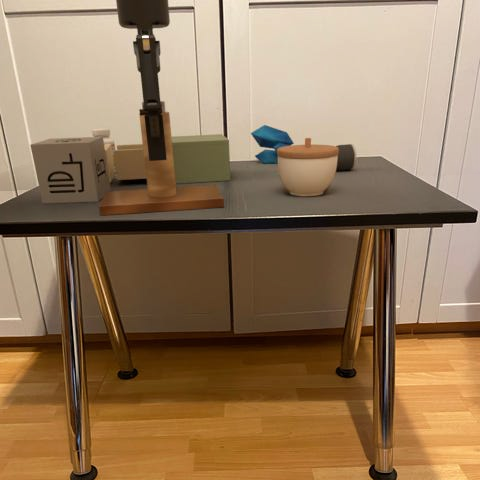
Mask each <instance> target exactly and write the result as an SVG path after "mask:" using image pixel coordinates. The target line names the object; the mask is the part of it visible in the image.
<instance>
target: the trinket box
mask: <svg viewBox="0 0 480 480" xmlns="http://www.w3.org/2000/svg"><path fill="white" fill-rule="evenodd" d="M336 146H337V145H331V144H330V145H329V144H312V138H311V137H305V138H304V144H292V145H291V146H284V147H280V148H278V149H277V155H278V164H277V169H278V175H279V179H280V181H281V184H282V185H283V186H284V188H286V190H288V192H289V194H290V195H292V196H296V197H316V196H317V197H318V196H320V195H323V194H324V192H325V191H326V190H327V189H328V188H329V186H330V185H332V183H333V181H334V178H335V177H336V172H337V170H336V168H337V160H338V153H339V148H338V147H336Z"/></svg>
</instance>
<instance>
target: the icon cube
mask: <svg viewBox="0 0 480 480" xmlns="http://www.w3.org/2000/svg"><path fill="white" fill-rule="evenodd" d="M29 146H30V151H31V155H32V160H33V164H34V169H35V174H36V179H37V182H38V188H39V192H40V197H41V202H42V204H68V203H69V204H70V203H94V202H97V203H98V202H101V201H102V199H103V197H104V195H105V193H106V191H112V188H111V183H110V181H109V174H108V168H107V161H106V154H105V147H104V141H103V137H94V136H85V137H83V136H82V137H59V138H58V137H55V138H54V137H53V138H47V139H45V140H42V141H41V140H40V141H37V142H34V143H31V144H30V145H29Z"/></svg>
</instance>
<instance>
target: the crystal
mask: <svg viewBox="0 0 480 480" xmlns="http://www.w3.org/2000/svg"><path fill="white" fill-rule="evenodd" d="M250 135H251V136H252V137H253V139H254V141H255V142H256V143H257V144H258V146H259V147H260V148H266V149H264V150H261V151H260V152H258V153H257V154H255V155H254V157H255V158H256V159H257V160H258V161H260V162H261V163H262V164H263V165H267V164H268V165H271V164H272V165H274V164H275V165H276V164H277V165H278V155H277V149H278V148H280V147H284V146H291V145H295V143H294V141H293V139H292V137H291V136H290V134H289V133H288V132H287V131H284V130H281V129H279V128H276V127H272V126H269V125H266V124H264V125H262V126H260V127H259V128H256V130H255V129H254V130H253V131H252V132H251V133H250Z"/></svg>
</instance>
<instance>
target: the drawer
mask: <svg viewBox="0 0 480 480" xmlns="http://www.w3.org/2000/svg"><path fill="white" fill-rule="evenodd" d="M104 147H105V154H106V161H107V168H108V174H109V181H110V184H111V183H112V180H113V179H114V177H115V175H116V180H117V181H127V180H145V179H146V180H147V178H146V169H145V161H144V152H143V143H132V144H131V143H129V144H117V145H116V149H115V150H113V153H114V160H115V167H116V173H115V169H114V162H113V155H112V148H111V144H105V146H104Z"/></svg>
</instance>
